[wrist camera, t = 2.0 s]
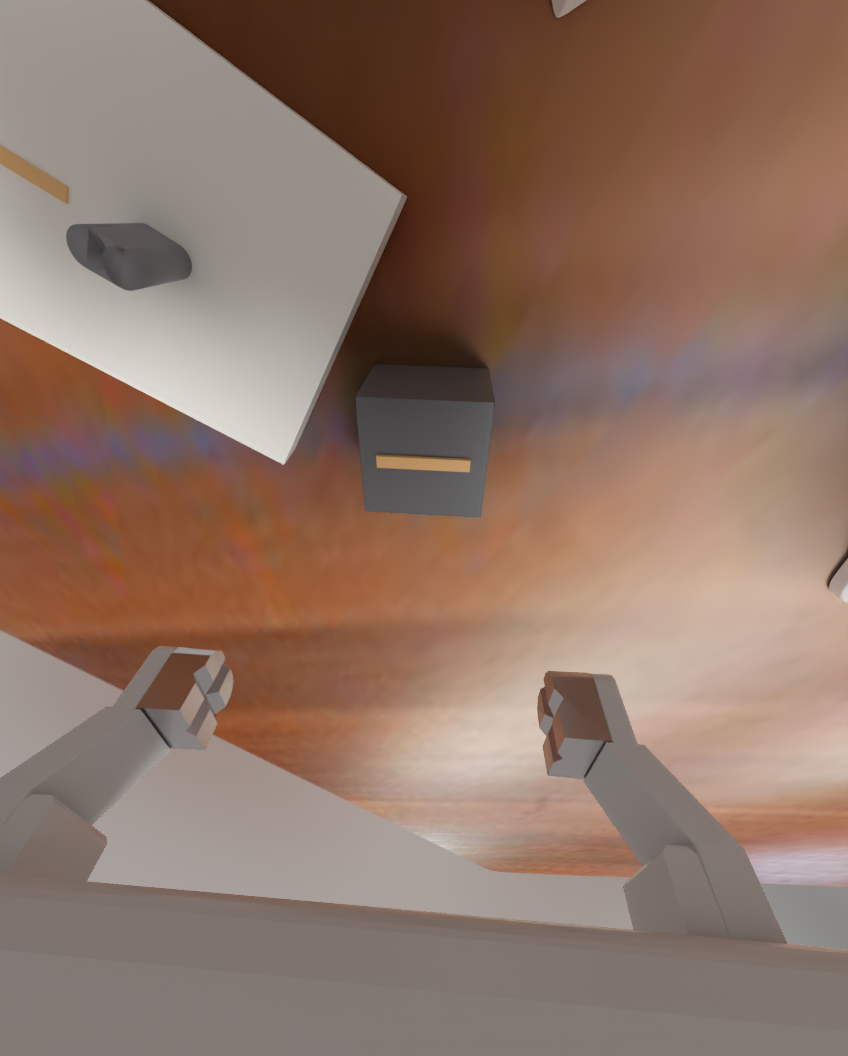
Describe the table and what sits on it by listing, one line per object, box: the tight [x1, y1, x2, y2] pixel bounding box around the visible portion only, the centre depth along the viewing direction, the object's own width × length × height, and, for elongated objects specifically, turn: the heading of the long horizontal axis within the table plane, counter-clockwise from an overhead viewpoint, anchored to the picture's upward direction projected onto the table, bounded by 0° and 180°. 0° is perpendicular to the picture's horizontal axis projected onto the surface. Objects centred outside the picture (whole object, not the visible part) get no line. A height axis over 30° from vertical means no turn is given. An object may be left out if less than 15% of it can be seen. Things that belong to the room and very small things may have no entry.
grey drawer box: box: [355, 364, 495, 518], centre depth 21 cm, size 6×6×5 cm
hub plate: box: [0, 0, 407, 465], centre depth 17 cm, size 16×14×6 cm
